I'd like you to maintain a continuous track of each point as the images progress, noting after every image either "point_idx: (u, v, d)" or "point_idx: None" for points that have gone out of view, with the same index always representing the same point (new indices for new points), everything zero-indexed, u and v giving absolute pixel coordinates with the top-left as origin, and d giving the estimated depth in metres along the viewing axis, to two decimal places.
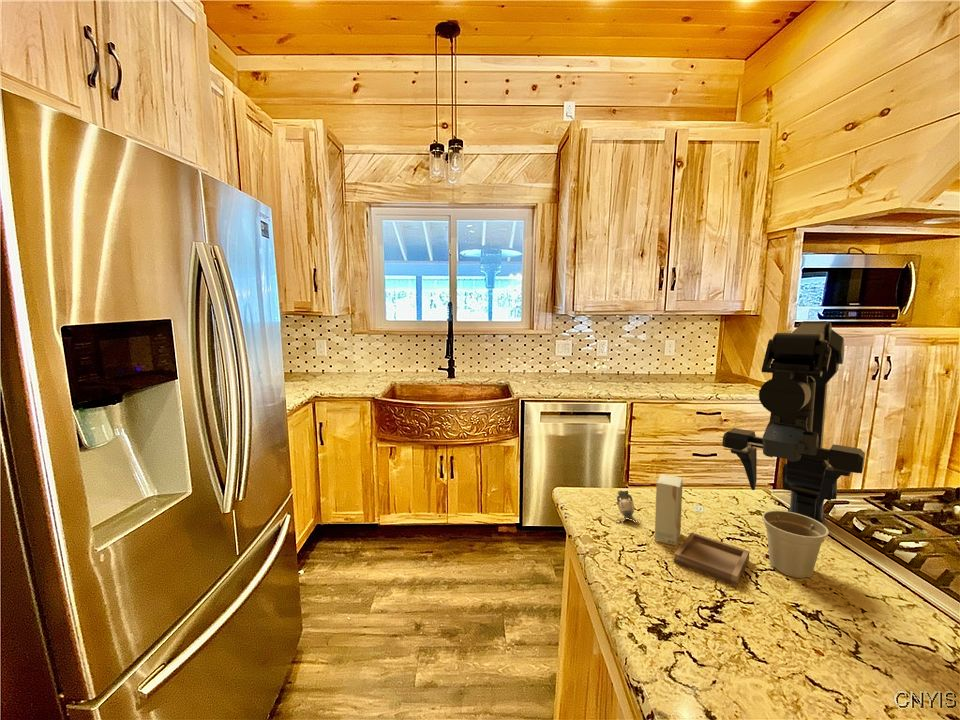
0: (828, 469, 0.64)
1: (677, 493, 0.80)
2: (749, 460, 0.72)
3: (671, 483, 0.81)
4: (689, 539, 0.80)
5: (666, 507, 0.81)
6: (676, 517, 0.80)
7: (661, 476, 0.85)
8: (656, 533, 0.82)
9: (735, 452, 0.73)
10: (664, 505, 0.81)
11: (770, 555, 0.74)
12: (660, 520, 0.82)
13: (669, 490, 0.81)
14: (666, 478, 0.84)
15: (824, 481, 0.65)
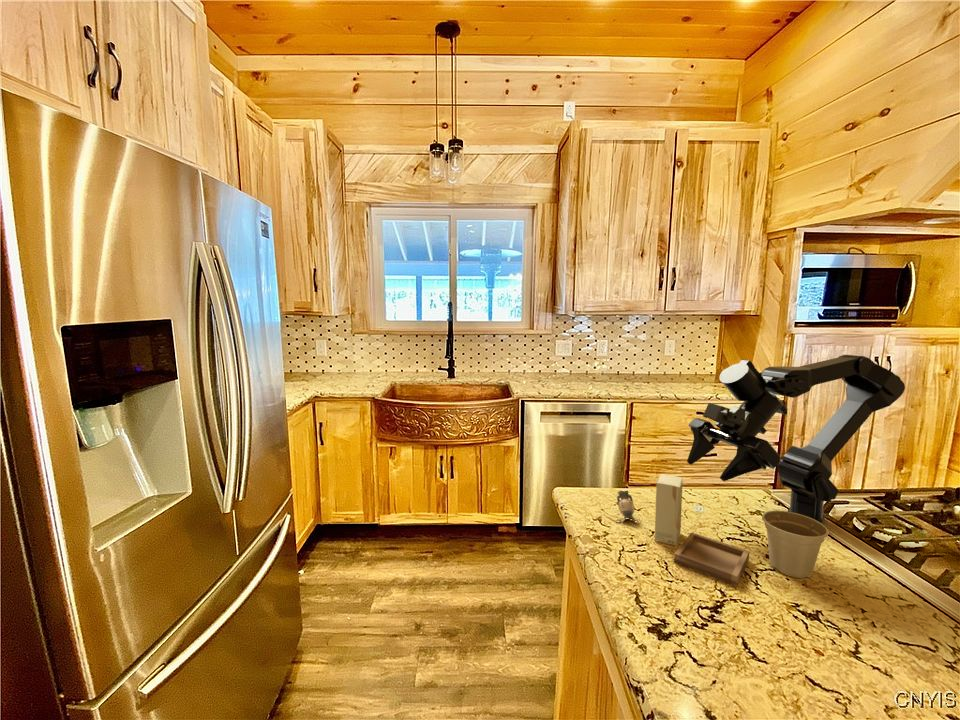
0: None
1: (677, 493, 0.80)
2: (698, 438, 0.89)
3: (671, 483, 0.81)
4: (689, 539, 0.80)
5: (666, 507, 0.81)
6: (676, 517, 0.80)
7: (661, 476, 0.85)
8: (656, 533, 0.82)
9: (692, 428, 0.91)
10: (664, 505, 0.81)
11: (770, 555, 0.74)
12: (660, 520, 0.82)
13: (669, 490, 0.81)
14: (666, 478, 0.84)
15: (734, 458, 0.80)
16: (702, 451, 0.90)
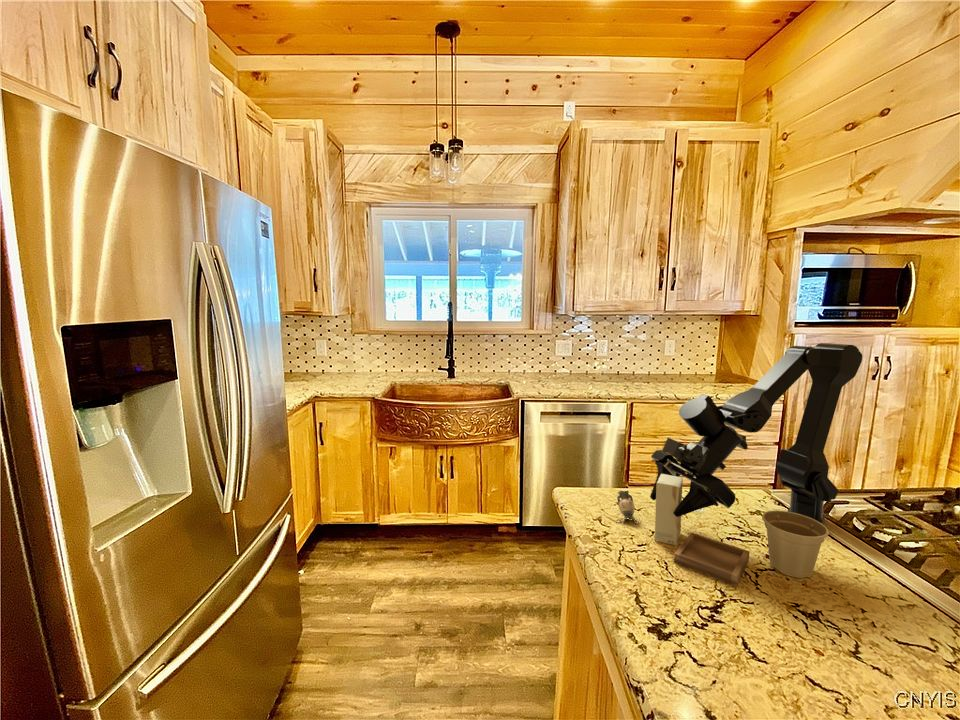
0: None
1: (677, 493, 0.80)
2: (662, 473, 0.88)
3: (671, 483, 0.81)
4: (689, 539, 0.80)
5: (666, 507, 0.81)
6: (676, 517, 0.80)
7: (661, 476, 0.85)
8: (656, 533, 0.82)
9: (656, 462, 0.89)
10: (664, 505, 0.81)
11: (770, 555, 0.74)
12: (660, 520, 0.82)
13: (669, 490, 0.81)
14: (666, 478, 0.84)
15: (687, 494, 0.79)
16: None
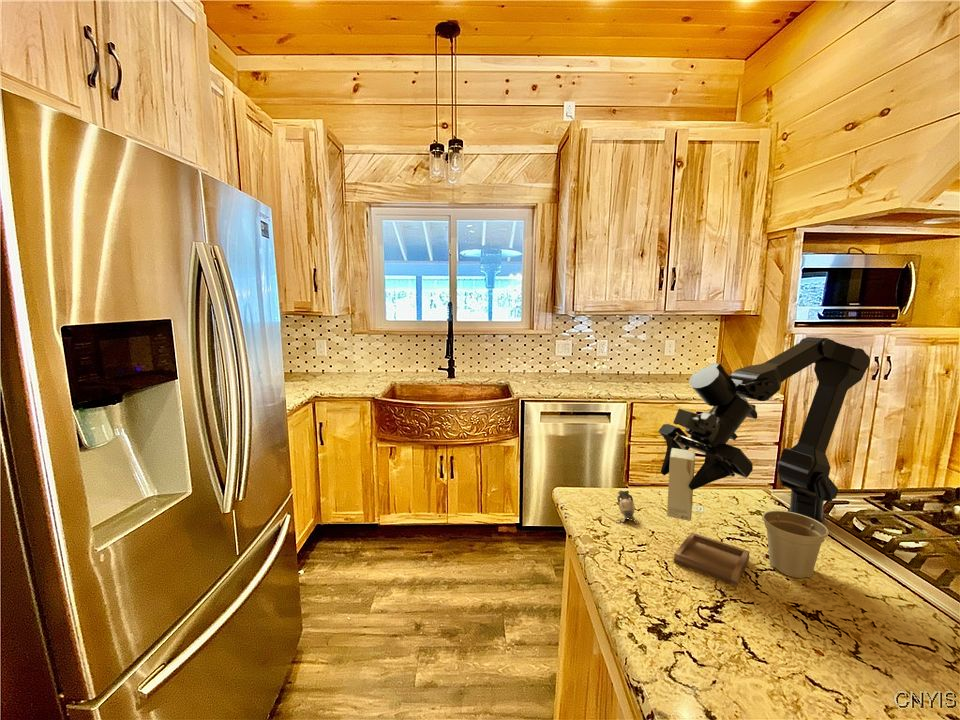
0: None
1: (692, 467, 0.77)
2: (672, 447, 0.84)
3: (685, 456, 0.78)
4: (689, 539, 0.80)
5: (680, 481, 0.78)
6: (690, 492, 0.77)
7: (673, 450, 0.82)
8: (669, 509, 0.79)
9: (665, 436, 0.86)
10: (678, 480, 0.78)
11: (770, 555, 0.74)
12: (673, 495, 0.79)
13: (683, 464, 0.77)
14: (678, 452, 0.80)
15: (702, 466, 0.76)
16: None
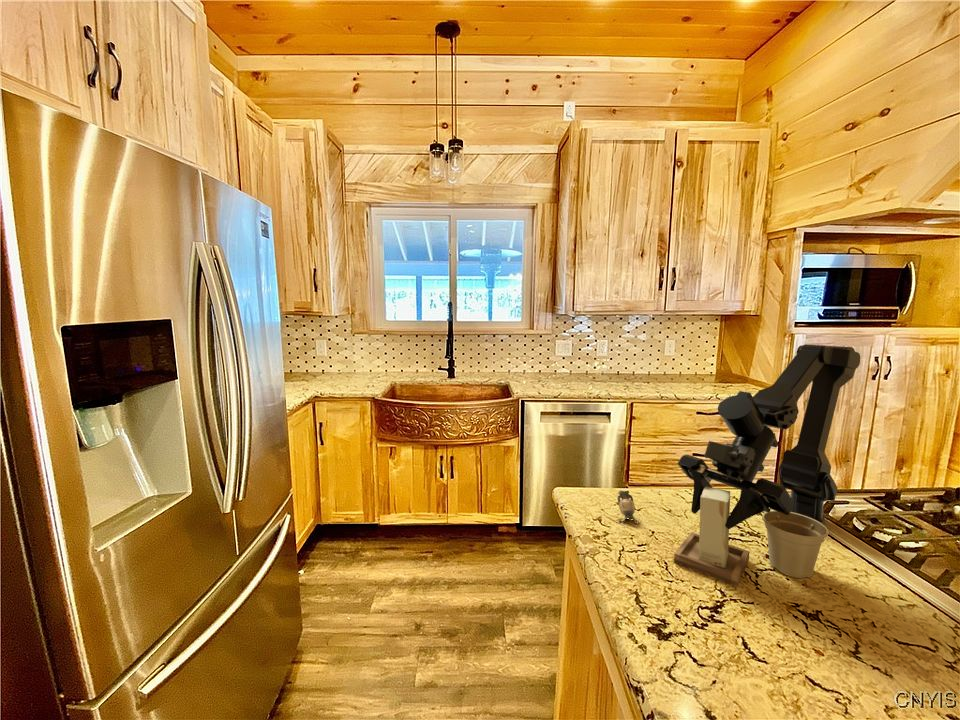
0: None
1: (725, 509, 0.71)
2: (700, 482, 0.78)
3: (718, 497, 0.73)
4: (689, 539, 0.80)
5: (712, 524, 0.73)
6: (724, 536, 0.72)
7: (705, 489, 0.77)
8: (701, 553, 0.74)
9: (691, 470, 0.80)
10: (710, 522, 0.73)
11: (770, 555, 0.74)
12: (705, 538, 0.73)
13: (715, 505, 0.72)
14: (711, 492, 0.75)
15: (738, 502, 0.71)
16: None
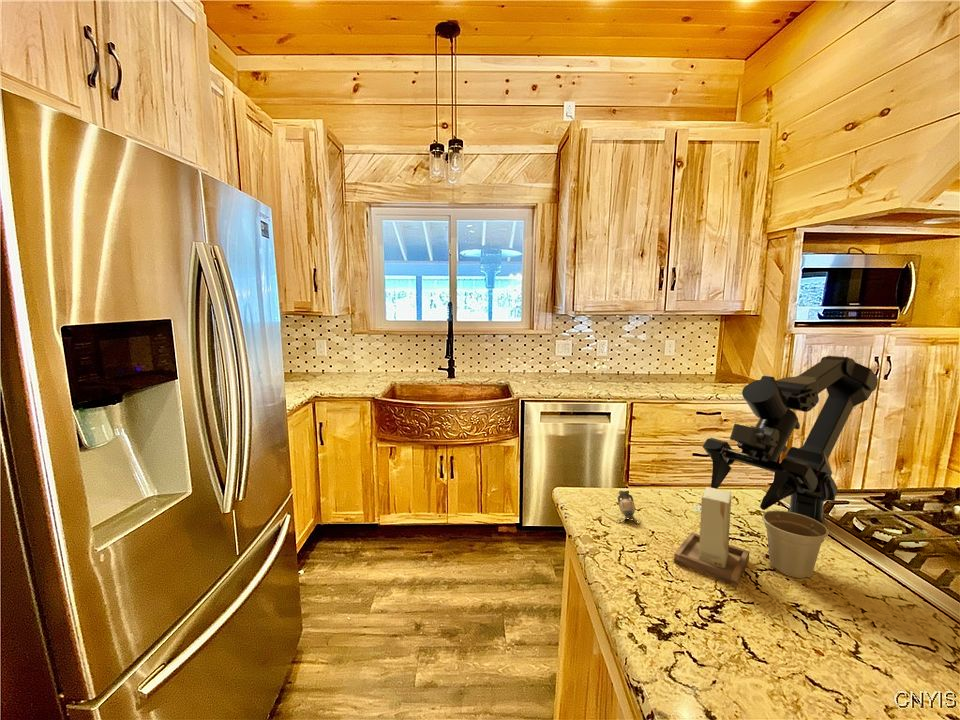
0: None
1: (726, 510, 0.71)
2: (719, 461, 0.83)
3: (719, 498, 0.73)
4: (689, 539, 0.80)
5: (713, 525, 0.72)
6: (724, 537, 0.72)
7: (706, 489, 0.76)
8: (701, 554, 0.74)
9: (710, 450, 0.84)
10: (711, 522, 0.73)
11: (770, 555, 0.74)
12: (706, 539, 0.73)
13: (716, 506, 0.72)
14: (712, 492, 0.75)
15: (773, 484, 0.74)
16: (722, 474, 0.83)
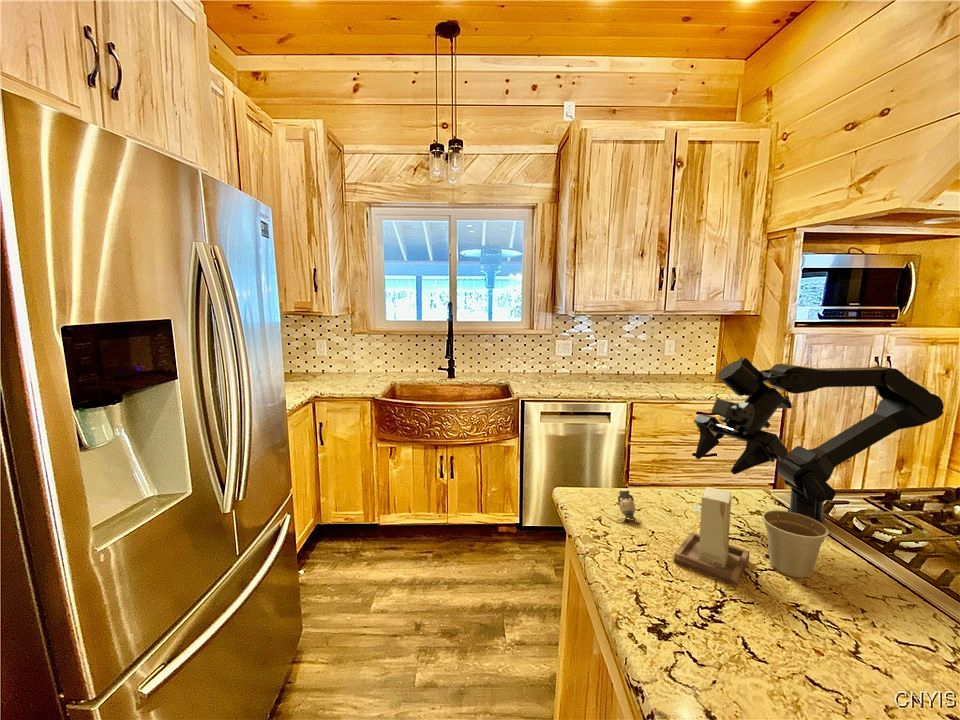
0: None
1: (726, 510, 0.71)
2: (705, 433, 0.92)
3: (719, 498, 0.73)
4: (689, 539, 0.80)
5: (713, 525, 0.72)
6: (724, 537, 0.72)
7: (706, 489, 0.76)
8: (701, 554, 0.74)
9: (698, 424, 0.94)
10: (711, 522, 0.73)
11: (770, 555, 0.74)
12: (706, 539, 0.73)
13: (716, 506, 0.72)
14: (712, 492, 0.75)
15: (744, 452, 0.83)
16: (708, 446, 0.92)
